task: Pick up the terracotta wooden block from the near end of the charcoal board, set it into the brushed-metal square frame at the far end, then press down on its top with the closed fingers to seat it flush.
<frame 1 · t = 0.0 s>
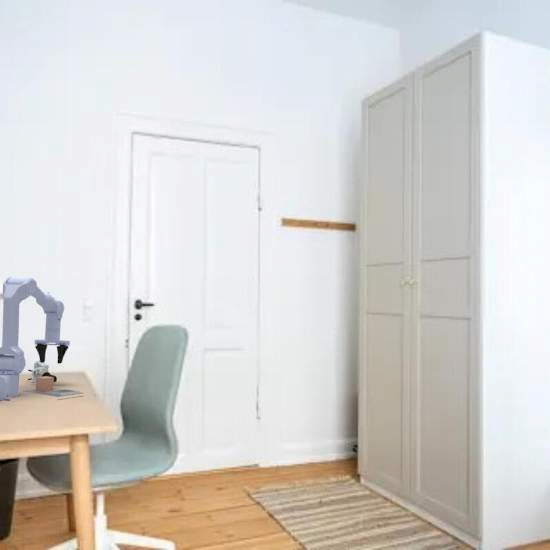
hand: (51, 362, 232), 10 cm above the table, tool pointing down, fingers open, 7 cm apart
block: (44, 390, 216), point 1 cm above the table, touching board
board: (53, 395, 214), on the table
toy: (41, 384, 243), on the table
locating frame: (62, 396, 211), resting on board
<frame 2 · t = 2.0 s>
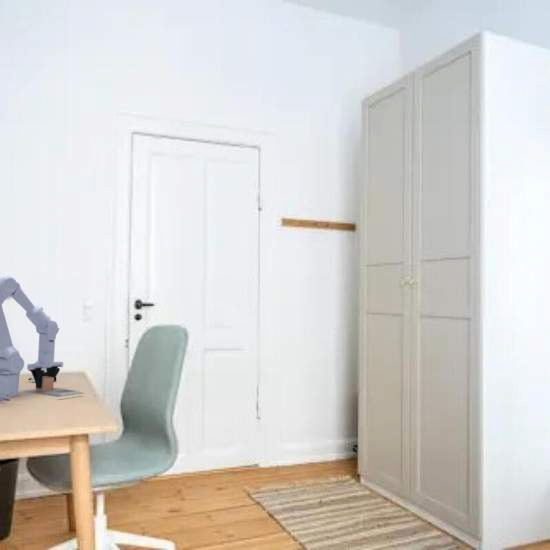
hand: (44, 387, 216), 2 cm above the table, tool pointing down, fingers closed on block, 4 cm apart
block: (44, 390, 216), point 1 cm above the table, touching board, gripper
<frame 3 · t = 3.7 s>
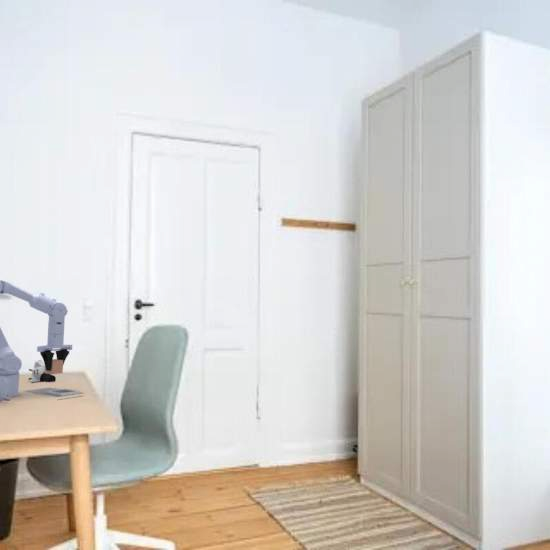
hand: (54, 369, 214), 9 cm above the table, tool pointing down, fingers closed on block, 4 cm apart
block: (53, 373, 214), point 8 cm above the table, touching gripper
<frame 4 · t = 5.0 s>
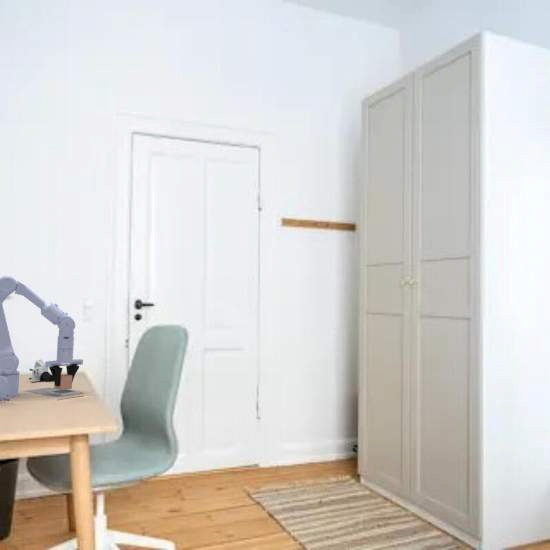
hand: (63, 385, 211), 4 cm above the table, tool pointing down, fingers closed on block, 4 cm apart
block: (62, 388, 211), point 3 cm above the table, touching gripper
when the fingers open (4 cm above the table, at t = 5.6 s): block drops 1 cm, resting on board.
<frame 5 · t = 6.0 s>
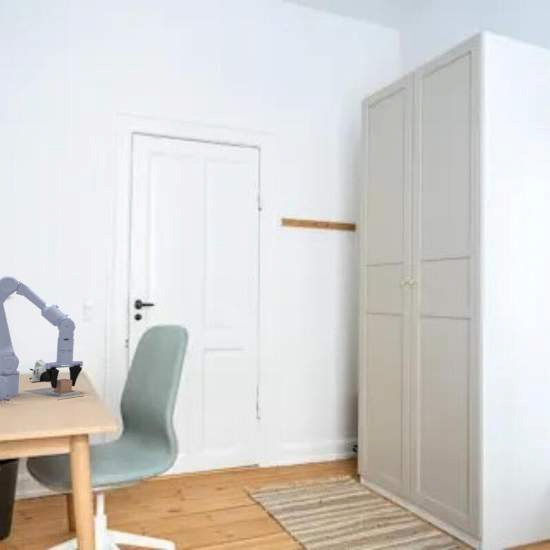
hand: (63, 386, 211), 4 cm above the table, tool pointing down, fingers open, 7 cm apart
block: (62, 393, 211), point 1 cm above the table, touching board
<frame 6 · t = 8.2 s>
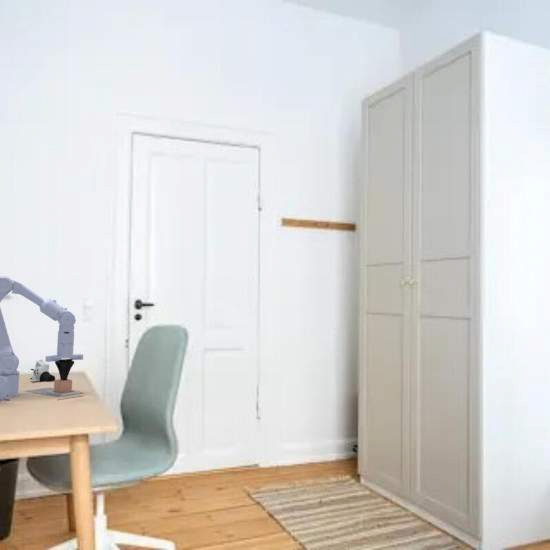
hand: (63, 380, 211), 6 cm above the table, tool pointing down, fingers closed, pressing on block
block: (62, 393, 211), point 1 cm above the table, touching board, gripper
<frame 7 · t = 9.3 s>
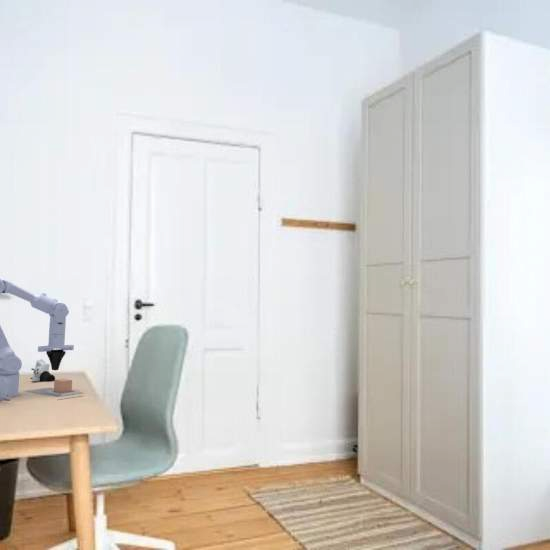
hand: (55, 370, 215), 9 cm above the table, tool pointing down, fingers closed
block: (62, 393, 211), point 1 cm above the table, touching board
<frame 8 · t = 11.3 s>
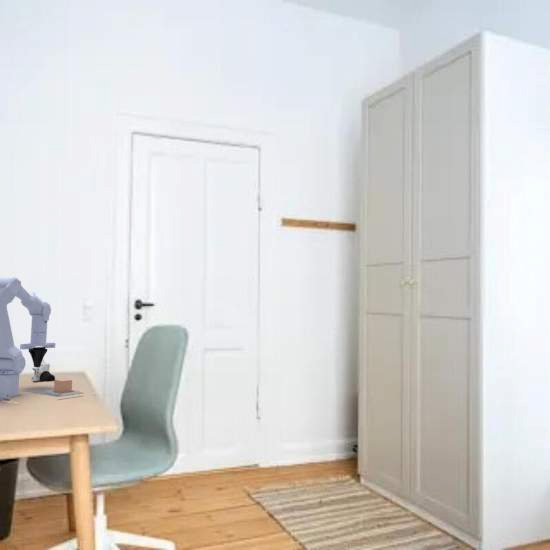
hand: (37, 367, 222), 9 cm above the table, tool pointing down, fingers closed
at the end: block 0.2 cm off-centre on the locating frame, point 1.2 cm above the locating frame's base; block tilted 0°; the gripper is holding nothing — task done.
